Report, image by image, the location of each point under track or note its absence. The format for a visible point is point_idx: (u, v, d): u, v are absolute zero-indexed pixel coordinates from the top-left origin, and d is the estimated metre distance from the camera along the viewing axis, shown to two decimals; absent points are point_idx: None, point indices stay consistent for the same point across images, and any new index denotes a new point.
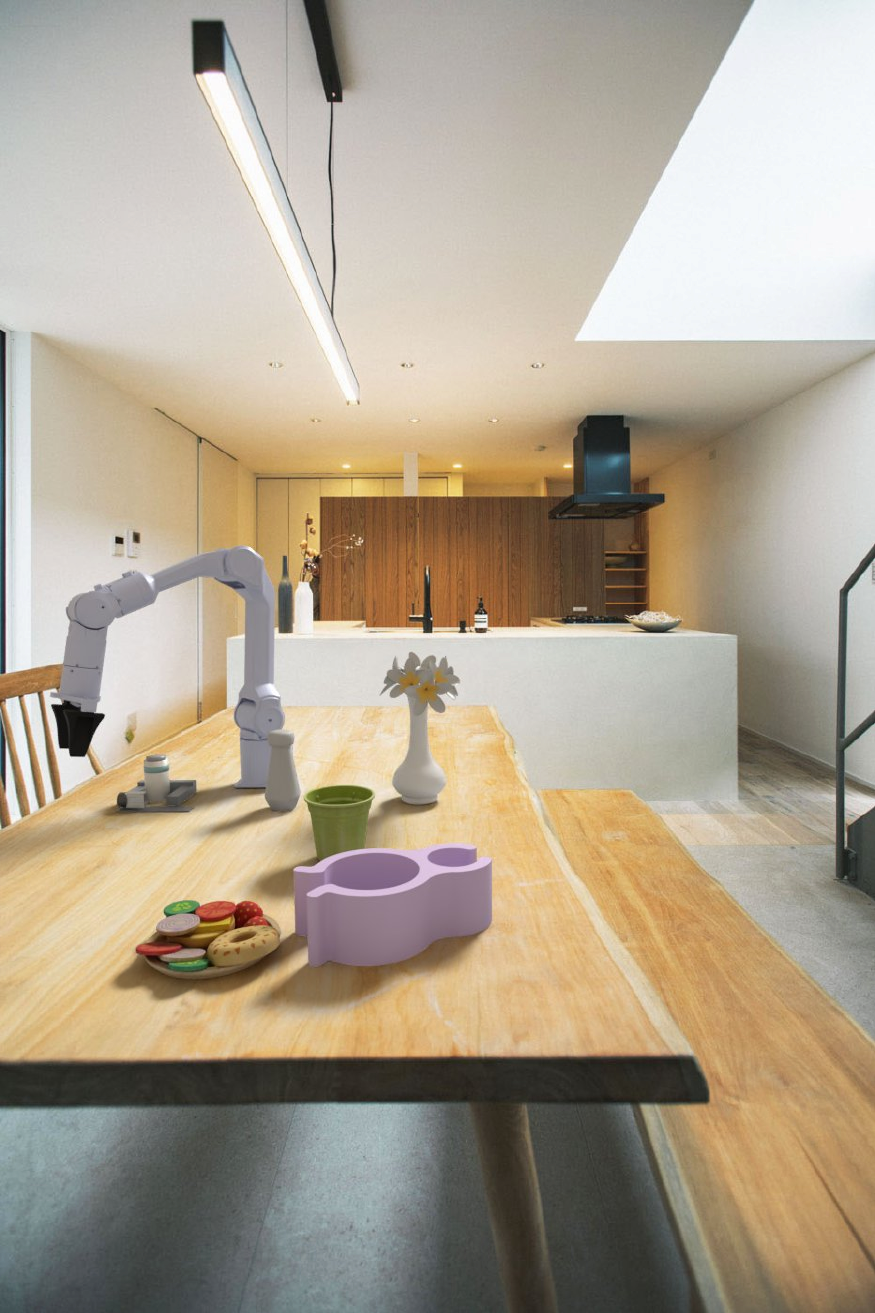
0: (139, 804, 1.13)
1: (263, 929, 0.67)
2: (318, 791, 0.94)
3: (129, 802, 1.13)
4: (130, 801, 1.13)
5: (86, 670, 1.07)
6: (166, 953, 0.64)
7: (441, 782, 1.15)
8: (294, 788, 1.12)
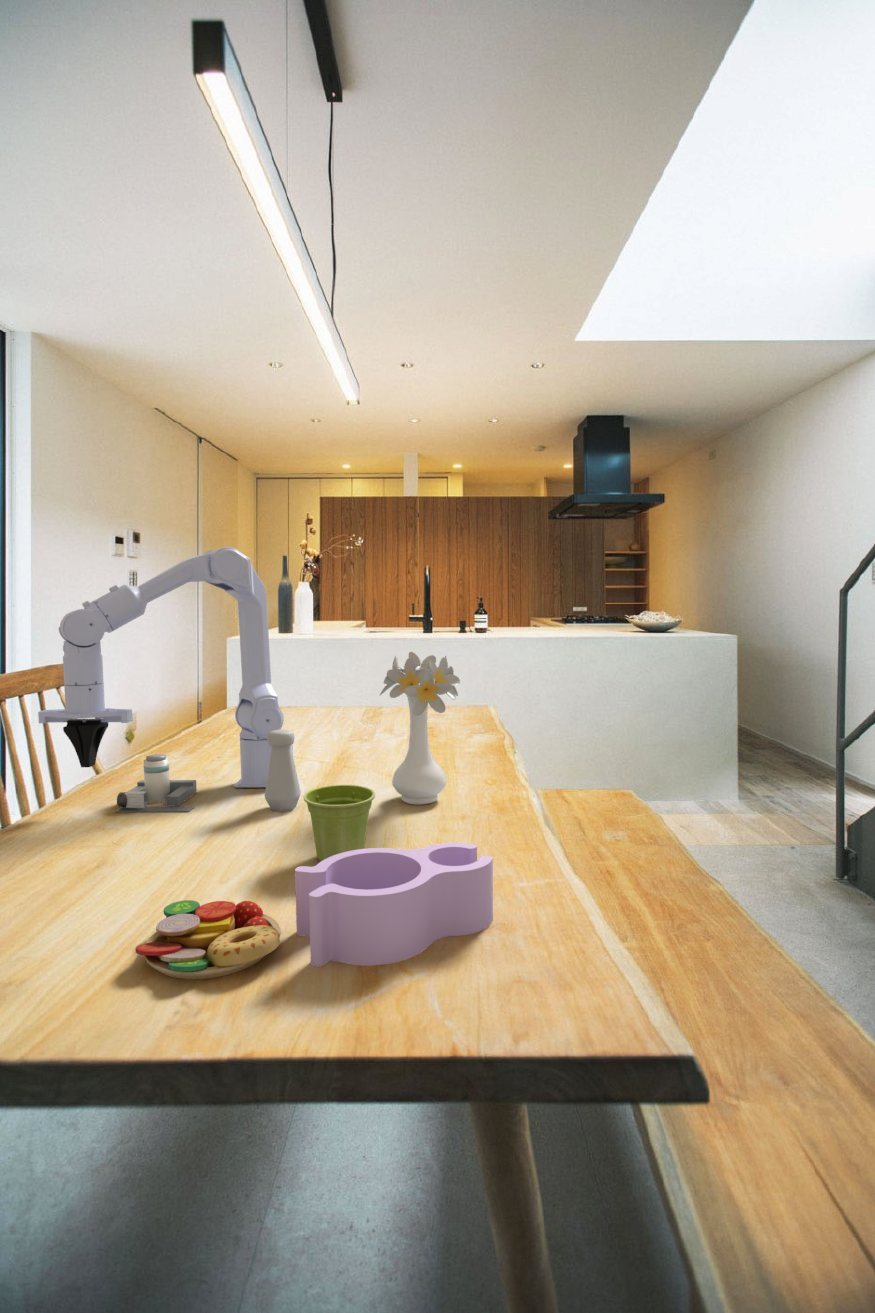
0: (139, 804, 1.13)
1: (263, 929, 0.67)
2: (318, 791, 0.94)
3: (129, 802, 1.13)
4: (130, 801, 1.13)
5: (101, 685, 1.12)
6: (166, 953, 0.64)
7: (441, 782, 1.15)
8: (294, 788, 1.12)
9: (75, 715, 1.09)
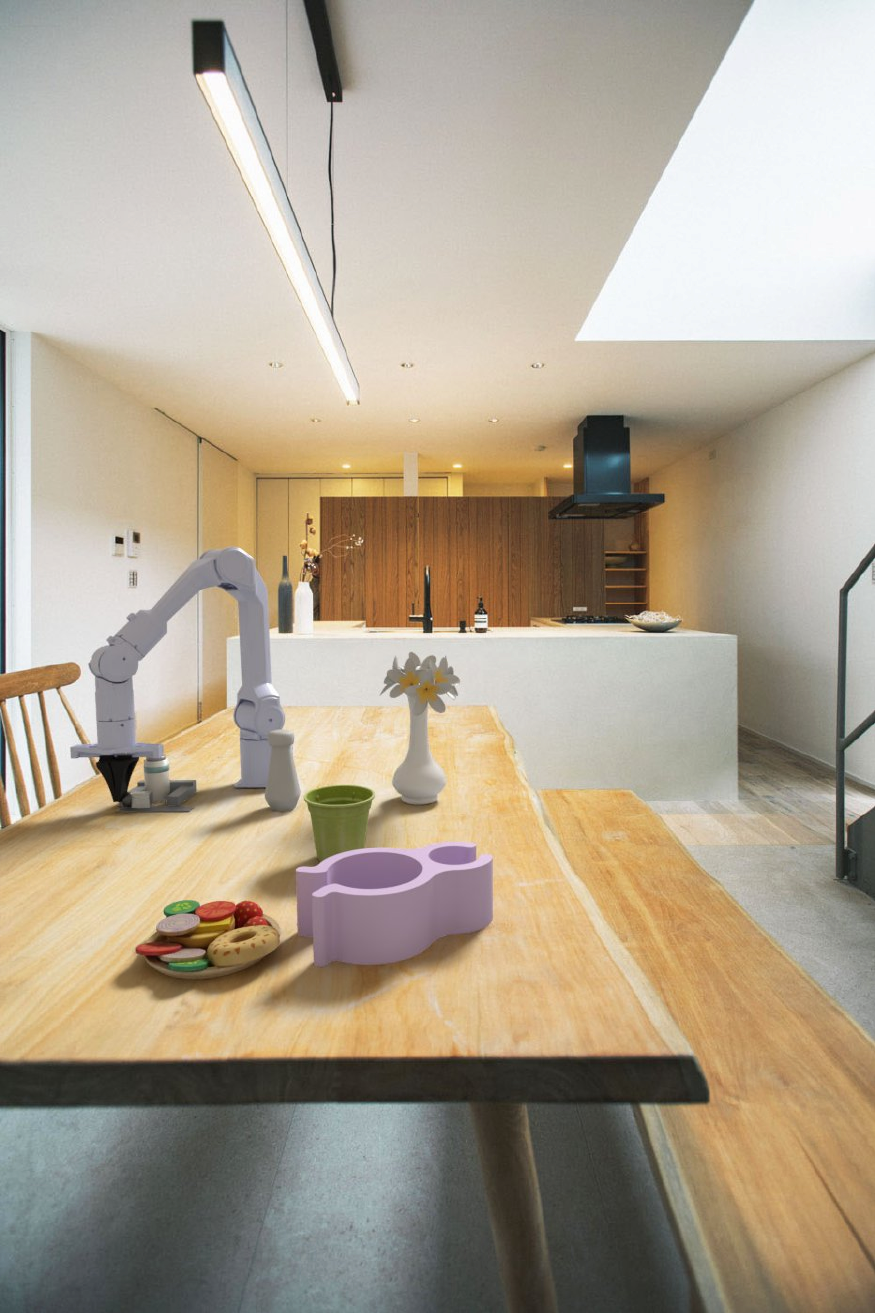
0: (145, 804, 1.13)
1: (263, 929, 0.67)
2: (318, 791, 0.94)
3: (134, 802, 1.13)
4: (135, 801, 1.13)
5: (132, 720, 1.13)
6: (166, 953, 0.64)
7: (441, 782, 1.15)
8: (294, 788, 1.12)
9: (108, 751, 1.09)
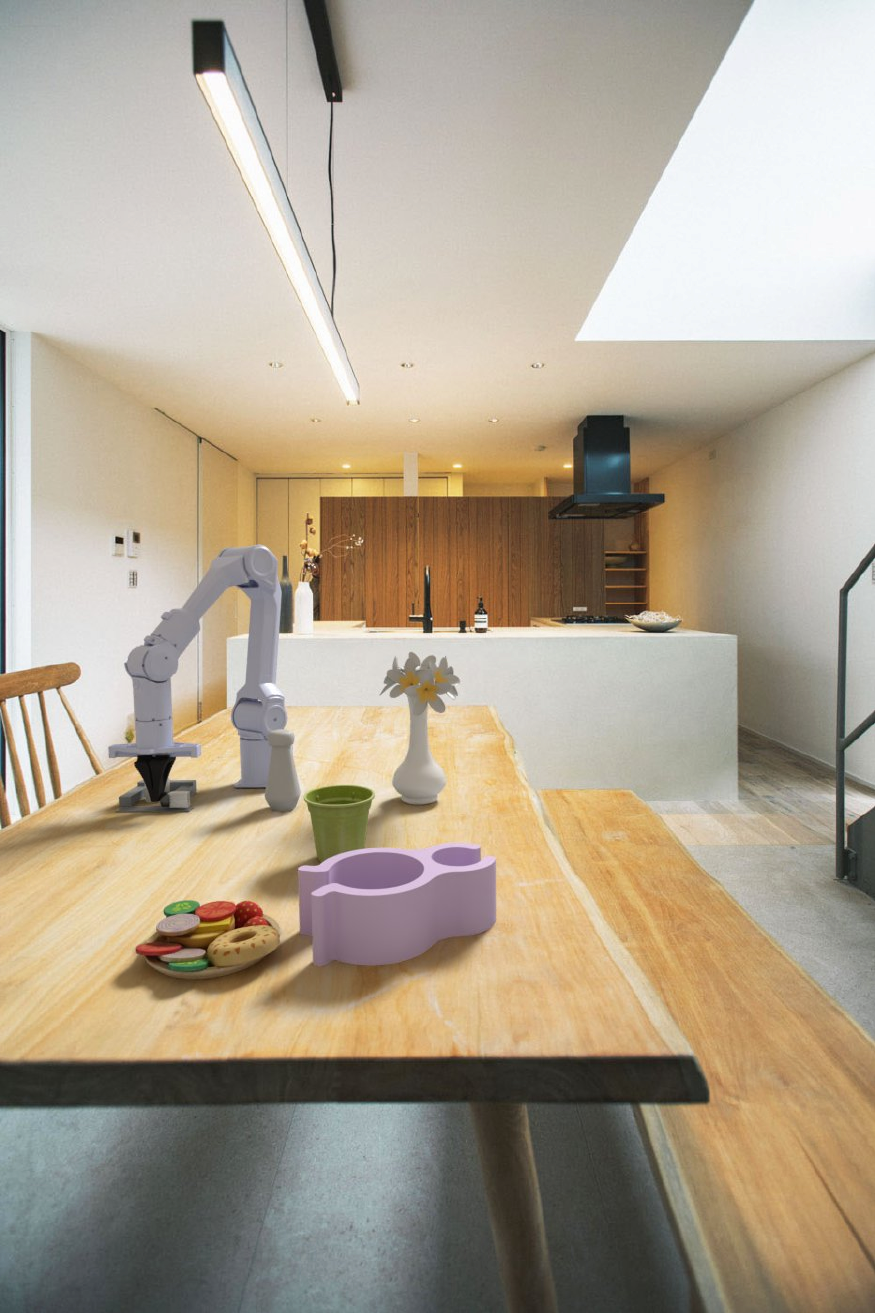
0: (183, 804, 1.13)
1: (263, 929, 0.67)
2: (318, 791, 0.94)
3: (172, 802, 1.13)
4: (173, 801, 1.13)
5: (170, 720, 1.13)
6: (166, 953, 0.64)
7: (441, 782, 1.15)
8: (294, 788, 1.12)
9: (147, 751, 1.09)
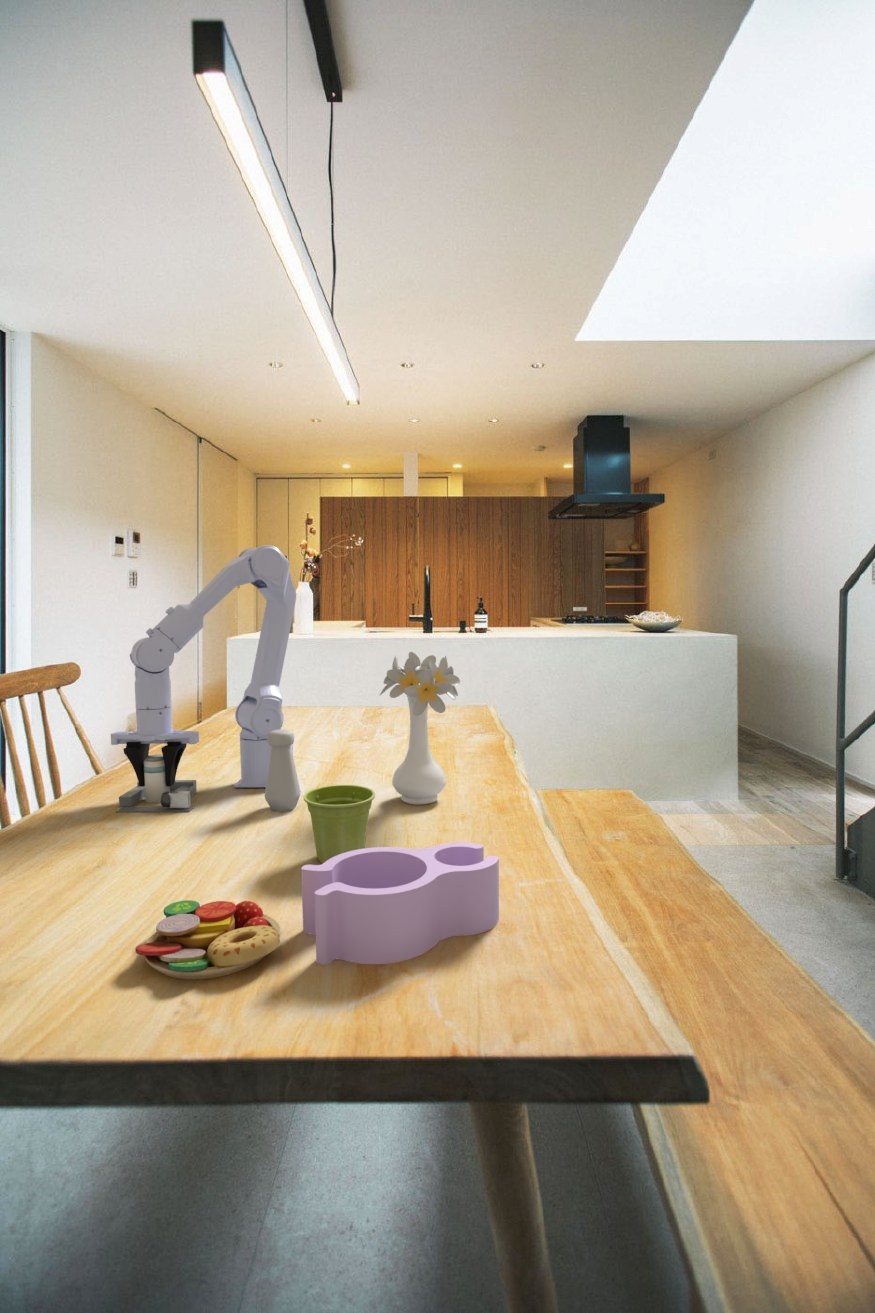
0: (183, 804, 1.13)
1: (263, 929, 0.67)
2: (318, 791, 0.94)
3: (172, 802, 1.13)
4: (174, 801, 1.13)
5: (170, 709, 1.19)
6: (166, 953, 0.64)
7: (441, 782, 1.15)
8: (294, 788, 1.12)
9: (147, 737, 1.15)
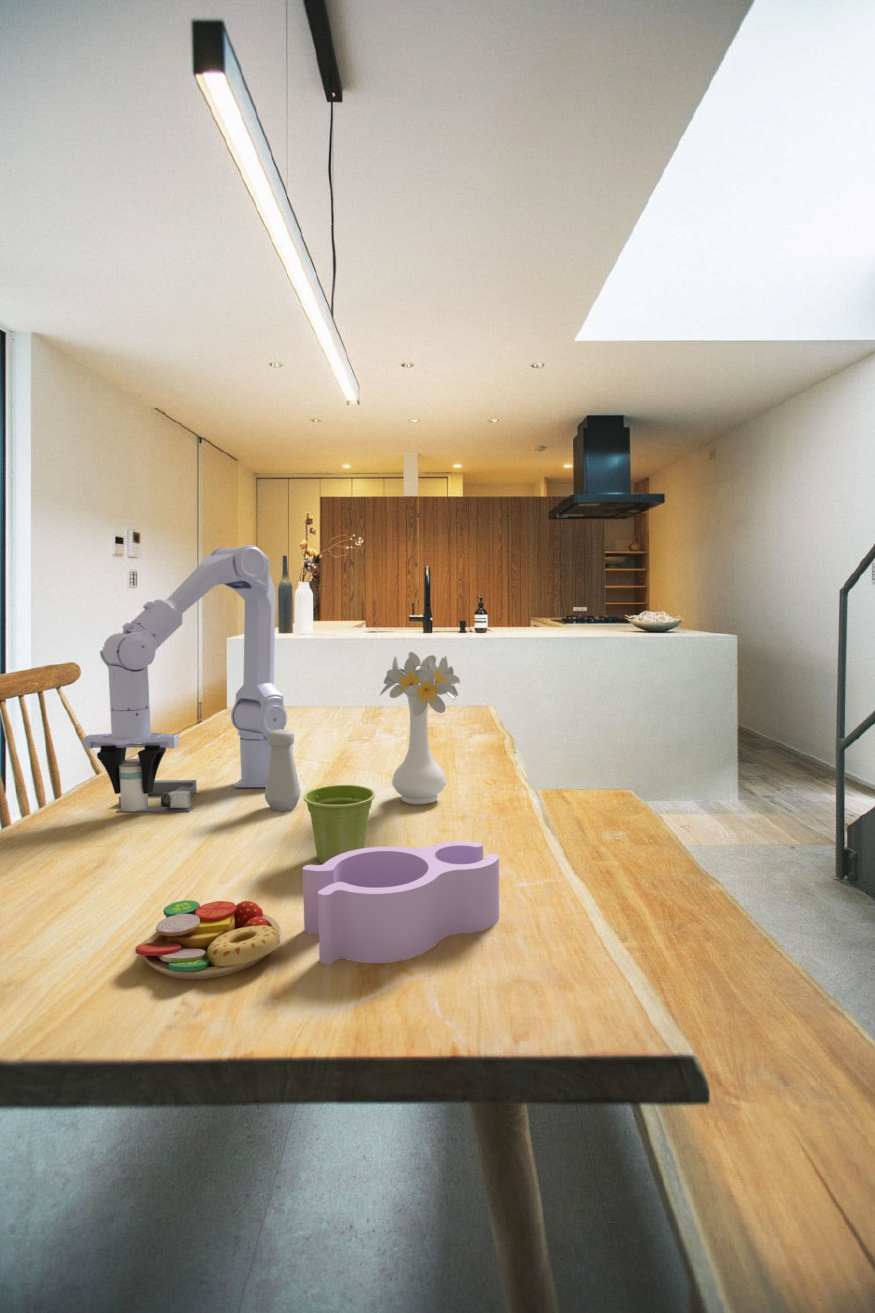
0: (183, 804, 1.13)
1: (263, 929, 0.67)
2: (318, 791, 0.94)
3: (172, 802, 1.13)
4: (174, 801, 1.13)
5: (147, 710, 1.10)
6: (166, 953, 0.64)
7: (441, 782, 1.15)
8: (294, 788, 1.12)
9: (122, 741, 1.06)
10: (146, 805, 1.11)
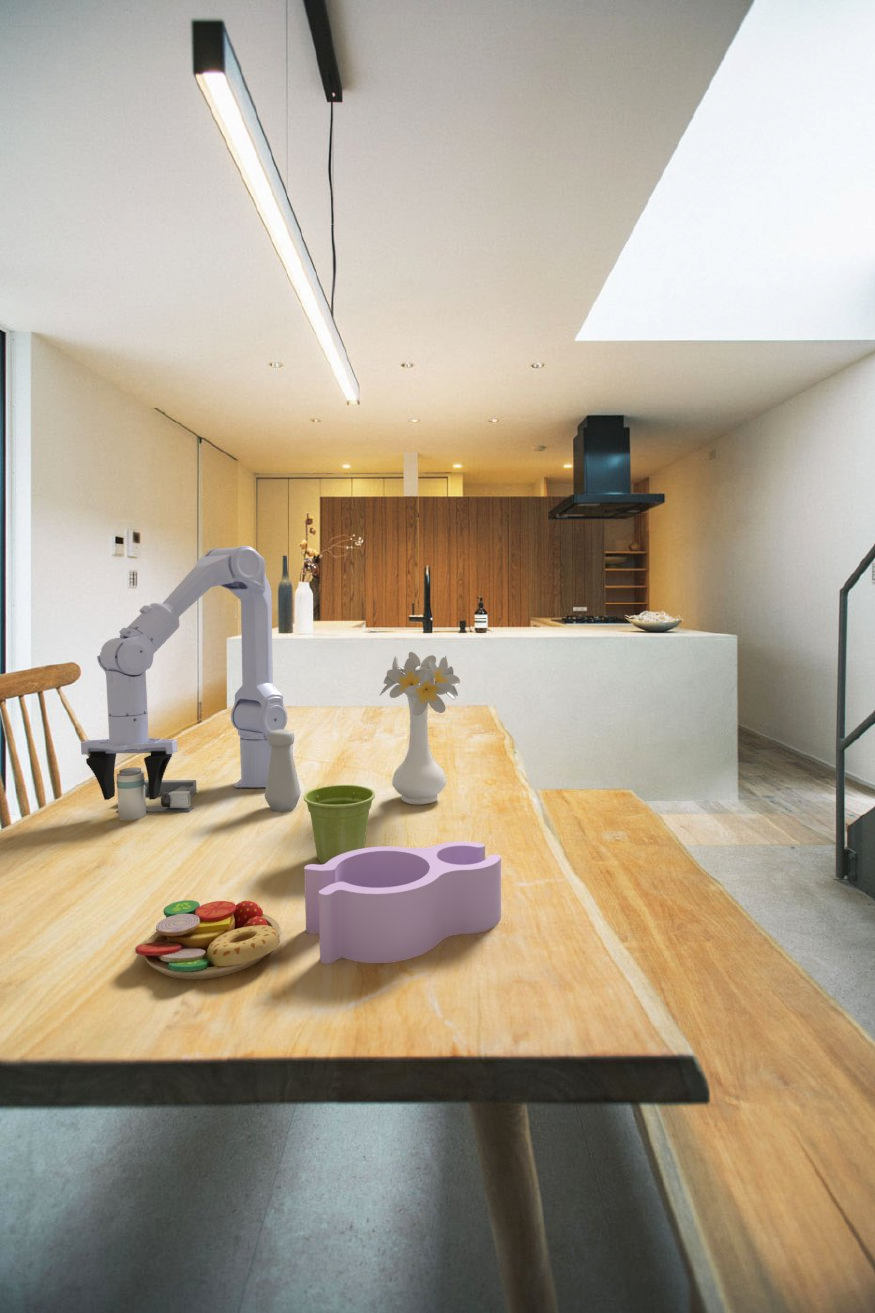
0: (183, 804, 1.13)
1: (263, 929, 0.67)
2: (318, 791, 0.94)
3: (172, 802, 1.13)
4: (174, 801, 1.13)
5: (145, 715, 1.09)
6: (166, 953, 0.64)
7: (441, 782, 1.15)
8: (294, 788, 1.12)
9: (120, 747, 1.05)
10: (144, 814, 1.10)
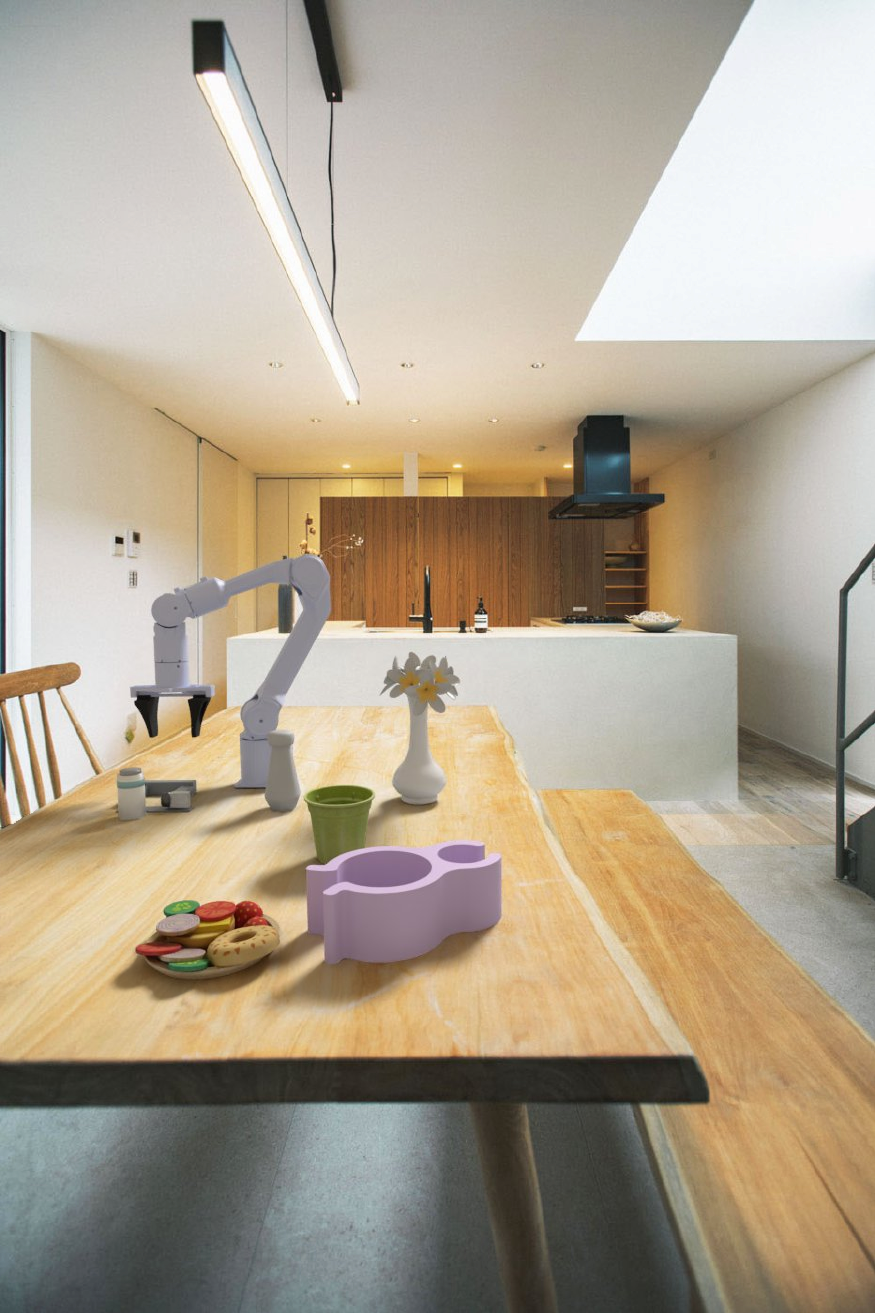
0: (183, 804, 1.13)
1: (263, 929, 0.67)
2: (318, 791, 0.94)
3: (172, 802, 1.13)
4: (174, 801, 1.13)
5: (187, 663, 1.23)
6: (166, 953, 0.64)
7: (441, 782, 1.15)
8: (294, 788, 1.12)
9: (166, 689, 1.20)
10: (144, 814, 1.10)
